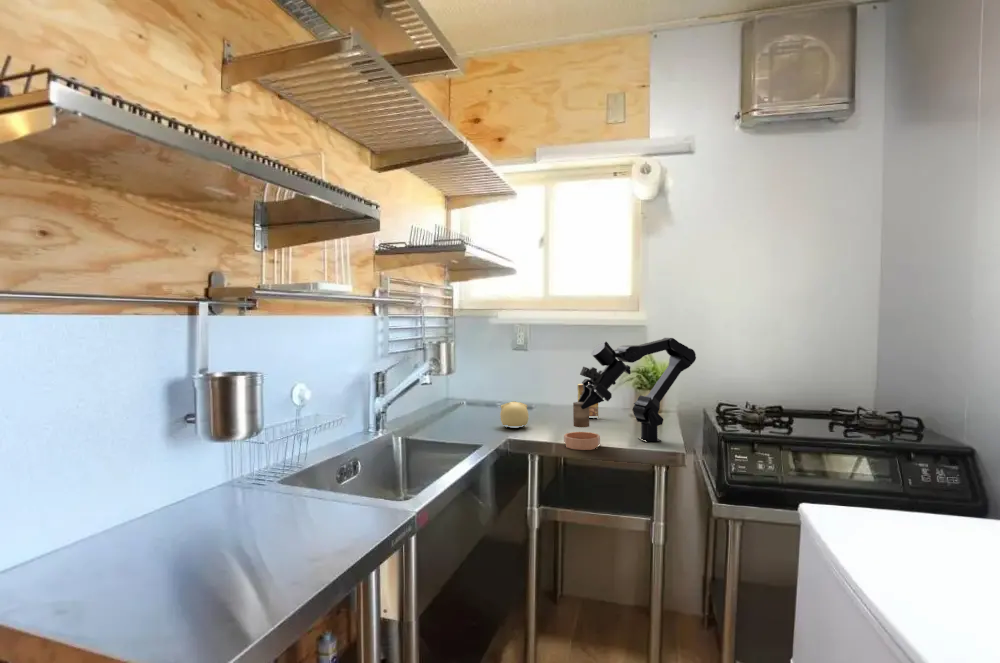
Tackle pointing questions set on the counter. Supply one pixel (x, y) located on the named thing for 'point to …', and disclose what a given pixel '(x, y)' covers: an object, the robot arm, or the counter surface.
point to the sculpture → (514, 414)
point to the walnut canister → (580, 415)
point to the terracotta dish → (581, 440)
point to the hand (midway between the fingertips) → (579, 406)
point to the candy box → (592, 409)
